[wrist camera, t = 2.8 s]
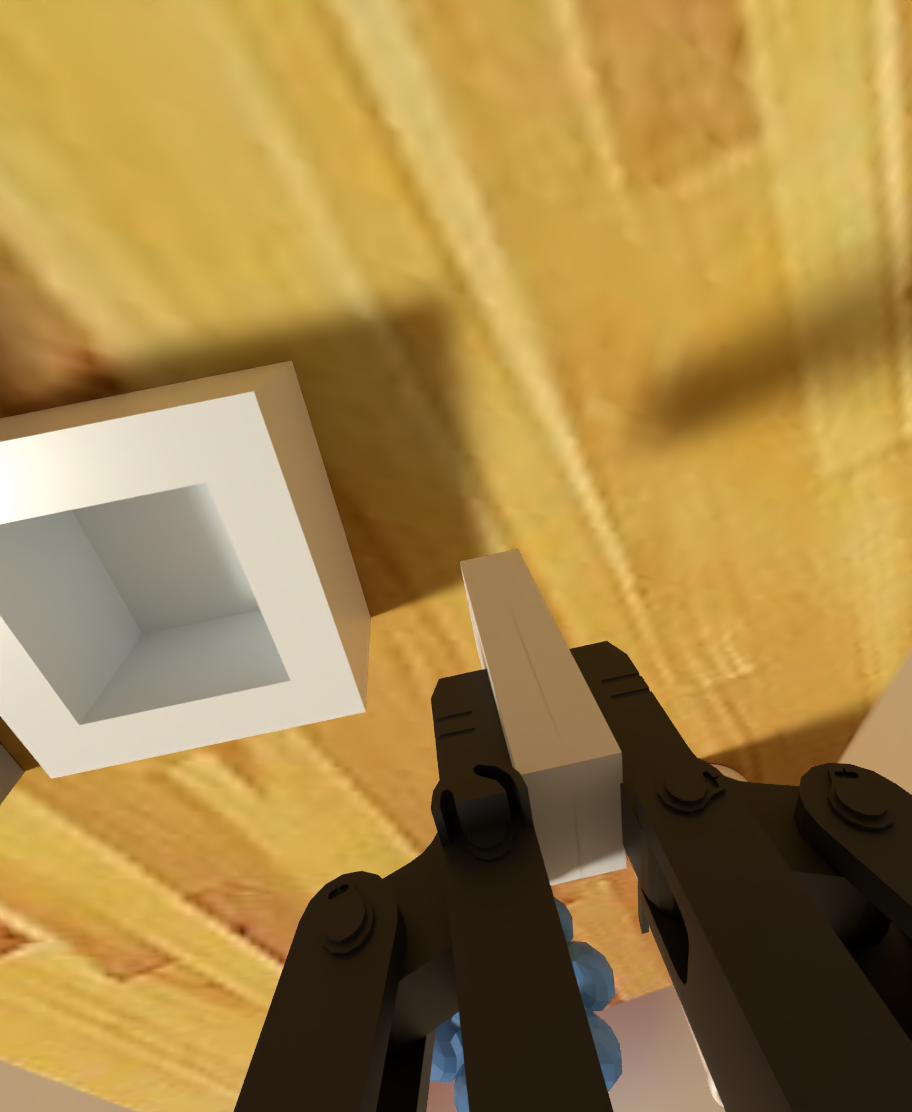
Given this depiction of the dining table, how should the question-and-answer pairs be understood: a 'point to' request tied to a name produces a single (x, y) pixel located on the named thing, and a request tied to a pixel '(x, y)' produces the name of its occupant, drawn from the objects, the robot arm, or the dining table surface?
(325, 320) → the dining table surface
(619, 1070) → the grapes
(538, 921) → the robot arm
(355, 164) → the dining table surface
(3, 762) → the wall
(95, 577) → the white square open box
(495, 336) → the dining table surface
